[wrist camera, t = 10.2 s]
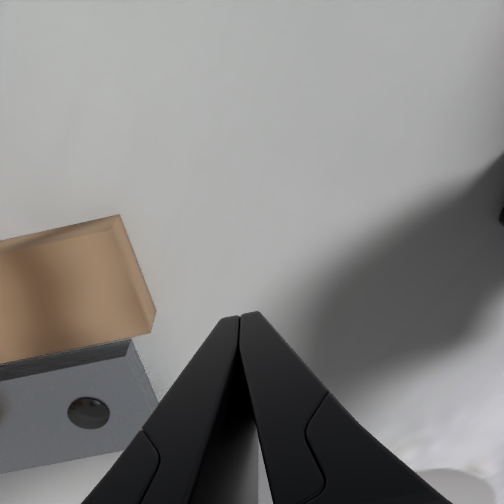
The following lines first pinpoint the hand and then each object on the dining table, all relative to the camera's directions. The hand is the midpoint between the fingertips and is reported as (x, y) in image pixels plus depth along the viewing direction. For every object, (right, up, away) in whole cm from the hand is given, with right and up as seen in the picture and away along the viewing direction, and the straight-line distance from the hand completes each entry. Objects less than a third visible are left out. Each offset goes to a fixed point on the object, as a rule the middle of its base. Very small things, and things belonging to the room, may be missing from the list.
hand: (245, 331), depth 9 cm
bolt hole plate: (-16, -8, +18) cm, 25 cm away
